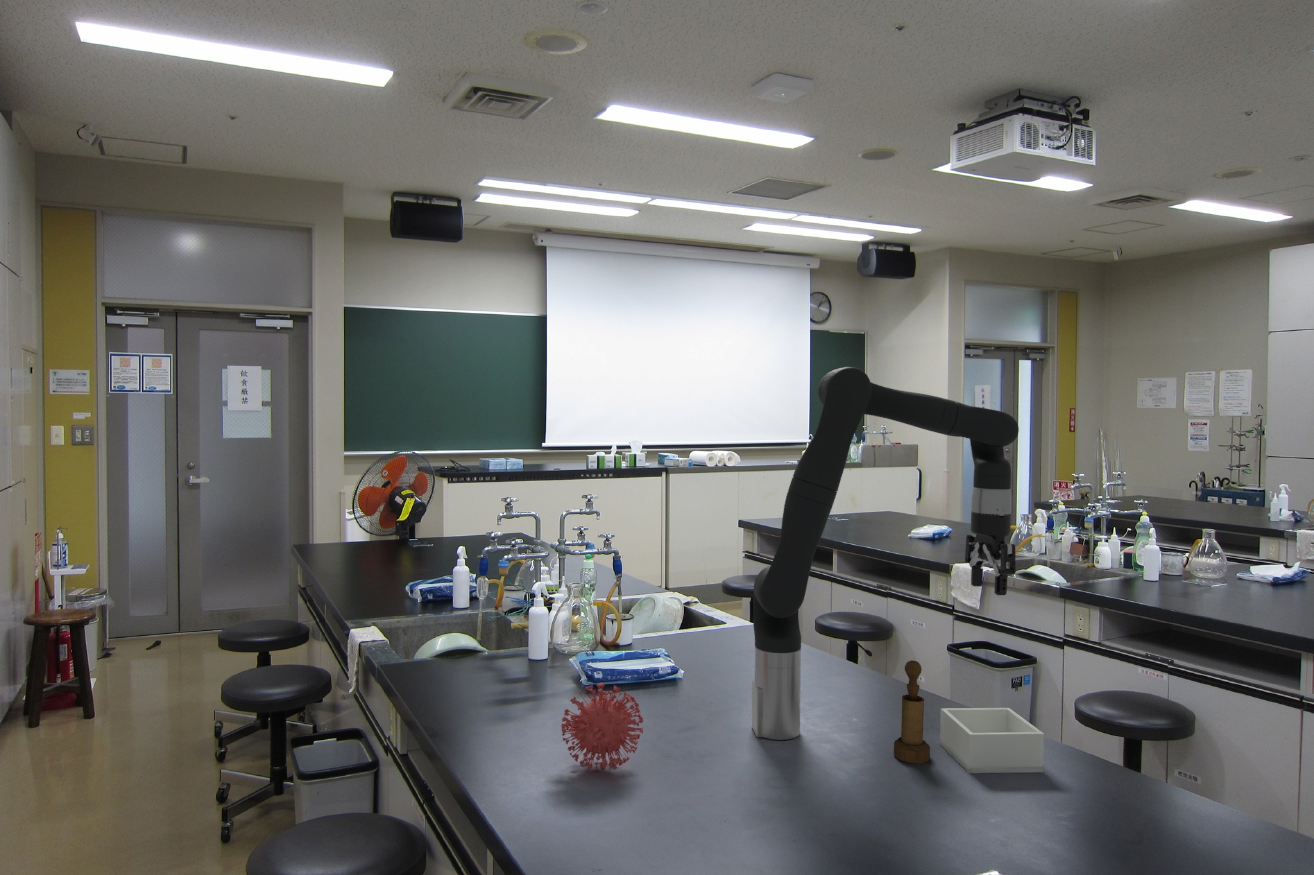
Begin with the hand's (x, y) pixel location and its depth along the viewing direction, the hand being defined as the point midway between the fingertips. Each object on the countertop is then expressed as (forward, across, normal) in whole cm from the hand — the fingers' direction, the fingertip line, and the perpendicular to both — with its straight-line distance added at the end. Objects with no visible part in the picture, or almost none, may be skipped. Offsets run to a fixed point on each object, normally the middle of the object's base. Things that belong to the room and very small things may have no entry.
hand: (988, 590), depth 172 cm
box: (+29, +13, -6) cm, 32 cm away
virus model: (+30, +5, -79) cm, 84 cm away
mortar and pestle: (+29, +10, -21) cm, 37 cm away
